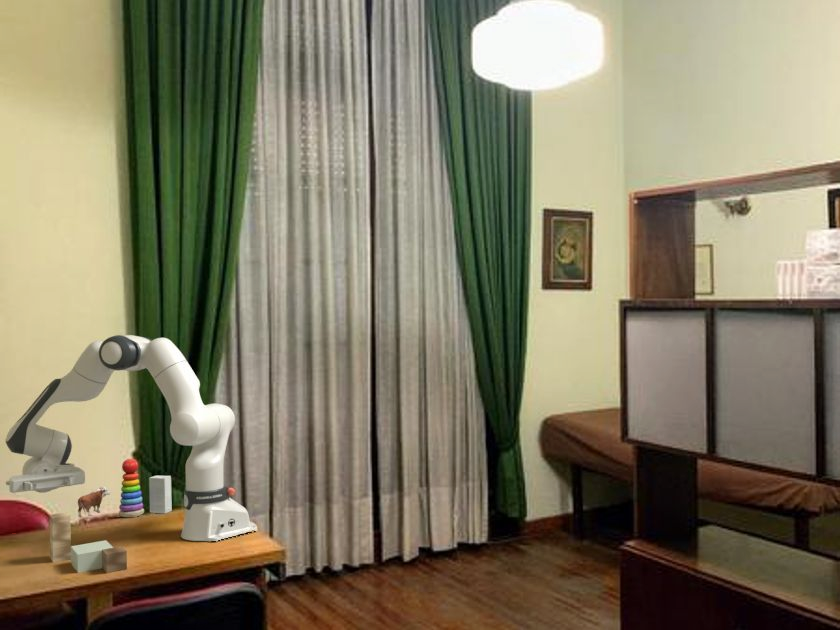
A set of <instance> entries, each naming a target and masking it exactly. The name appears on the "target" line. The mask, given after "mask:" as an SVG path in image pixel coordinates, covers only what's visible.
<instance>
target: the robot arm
mask: <svg viewBox="0 0 840 630" xmlns="http://www.w3.org/2000/svg"><path fill="white" fill-rule="evenodd" d="M145 370H148V372H149V373H150V375H151V376H152V378H153V380H154V382H155V383H156V385H157V387H158V388H159V390H160V391H161V393H162V396H163V398H164V399H165V400H166V402H167V403H166V404H167V406H168V409H169V412H170V417H171V421H170V425H169V432H170V436H171V438H172V439H173V440H174V442H175V443H177V444H179V445H181V446H186V447H187V446H189V447H191V446H192V447H191V448H192V449H191V452H190V454H189V456H188V458H187V460H186V463H185V488H184V490H183V491H184V492H183V493H184V495H183V503H184V505H183V507H184V508H185V510H184V518H183V519H184V520H183V527H182V530H181V534H180V537H181V538H182V539H183V540H186V541H192V542H193V541H194V542H196V541H197V542H211V541H216V542H219V541H218V540H220V541H222V540H221V539H224V538H228V537H232V536H236V535H238V534H242V533H246V532H249V531H252V530H255V531H256V532H258V525H257V524H256V523H254V522H253V521H250V515H249V512H248V510H247V508H246V507H244V506H243V505H241V503H239V502H237V501H236V500H235V499H233V498H231V497H230V496H234V495H235V494H236V489H234V488H233V487H228V486H227V485H224V484H225V483H224V469H225V468H224V462H225V454H226V449H227V445H228V441H229V437H230V434H231V432H232V430H233V429H234V426H235V422H236V416H235V413H234V411H233V410H232V409H231V407H229V406H227V405H225V404H221V403H215V402H214V403H208V404H204V403H203V400H202V397H201V394H200V387H201V382H200V379H199V378H198V377H197V375H196V374H195V372H194V370H193V369H192V367H191V365H190V364H189V361H188V360H187V359H186V357H185V355H184V354H183V353H182V352H181V350H180V349H179V348H178V347H177V345H175V344H174V342H173V341H172V340H170V339H169V338H166V337H157V338H154V339H151V338H149V337H146V336H138V335H133V334H126V335H125V334H123V335H121V334H118V335H113V336H110V337H107V338H106V339H105V340H94V341H92V342H91V343H89V344H88V345H87V347H86V348H85V349H84V350H83V352H82V353H81V354H80V356H79V357H78V359H77V361H76V362H75V364H74V365H73V367H72V369H71V370H70V371H69V372H68V373H67V374H66V375H64V376H62V377H61V378H55V379H53V380H52V381H51V382H50V383H49V384H48V385H47V386H46V387H45V388H44V390H42V392H41V393H40V394H39V395H38V397H37V398H36V399H35V400H34V401H33V402H32V404H31V405H30V407H29V408H28V409H27V410H26V412H24V414H23V415H22V416H21V417H20V418H19V419H18V420H17V421H16V422H15V423H14V425H13V426H12V427H11V428H10V429H9V431H8V433H7V434H6V436H5V437H6V438H5V444H6V446H7V448H8V450H9V451H10V452H11V453H14V454H18V455H25V456H29V457H30V458H28V459H27V460H26V461H25V462H24V464H23V466H22V471H21V472H22V474H20V475H14V476H11V477H10V478H9V480H6V481H5V485H6V486H9V487H8V489H9V492H10V493H14V494H15V493H22V492H29V491H30V492H31V491H32V492H33V491H35V492H36V493H45V494H46V493H48V492H51V491H54V490H56V489H59V488H65V487H71V486H77V485H83V484H86V483H85V481H86V474H85V471H84V470H83V469H82V468H80V467H77V466H76V465H75V463H69V462H68V460H69V457H70V455H71V452H72V448H73V445H72V444H73V443H72V439H71V437H70V435H69V434H68V433H65V432H62V431H60V430H55V429H51V428H49V427H45V426H43V425H39V424H38V422H39V421H40V419H41V418H42V417H43V416H44V414H45V413H46V412H47V410H49V408H50V407H51V406H53V405H55V404H57V403H65V402H76V403H77V402H79V403H80V402H81V403H82V402H87V401H91V400H93V399H96V398H97V397H99V395H100V394H101V393H103V390H104V389H105V388H106V386H107V384H108V382H109V381H110V379H111V377H112V375H113V373H114V372H115V371H127V372H136V371H145ZM236 537H237V536H236ZM232 538H233V537H232ZM228 539H229V538H228ZM224 540H225V539H224Z"/></svg>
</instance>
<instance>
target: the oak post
mask: <svg viewBox="0 0 840 630" xmlns="http://www.w3.org/2000/svg"><path fill="white" fill-rule="evenodd" d="M71 523H72V522H71V514H69V512H65V511H64V512H61V513H54V514H49V555H50V557H49V558H50V559H51V561H52V563H58V562H64V561H69V560H70V561H71V546H72V544H71V543H72V542H71V541H72V540H71V539H72V538H71V537H72V536H71V535H72V532H71V531H72V528H71Z"/></svg>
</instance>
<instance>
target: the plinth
mask: <svg viewBox="0 0 840 630" xmlns="http://www.w3.org/2000/svg"><path fill="white" fill-rule="evenodd" d="M109 548H114V546H112V544H110V542H108V540H106V539H105V540H100V541H94V542H89V543H83V544H77V545H76V544H75V545H71V559H70V564H71V566H72V567H73V568H74V569H75V571H76V572H77V573H84V572H90V571H94V570H100V569H103V568H102V550H103V549H109Z"/></svg>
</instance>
